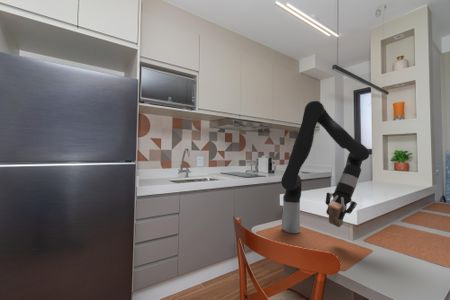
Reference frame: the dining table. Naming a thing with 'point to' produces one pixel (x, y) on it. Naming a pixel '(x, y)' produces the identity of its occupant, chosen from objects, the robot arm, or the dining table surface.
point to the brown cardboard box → (335, 213)
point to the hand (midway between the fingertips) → (333, 217)
